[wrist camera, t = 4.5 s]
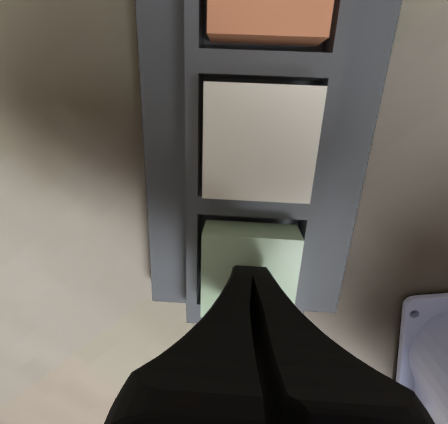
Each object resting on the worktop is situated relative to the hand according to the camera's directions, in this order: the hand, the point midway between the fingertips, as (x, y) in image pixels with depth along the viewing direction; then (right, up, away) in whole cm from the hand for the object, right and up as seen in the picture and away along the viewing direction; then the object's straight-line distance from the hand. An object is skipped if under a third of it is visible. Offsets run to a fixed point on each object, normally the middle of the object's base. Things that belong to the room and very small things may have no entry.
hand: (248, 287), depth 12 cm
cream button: (0, +6, 0) cm, 6 cm away
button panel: (+1, +7, +3) cm, 7 cm away
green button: (0, +1, +2) cm, 2 cm away
